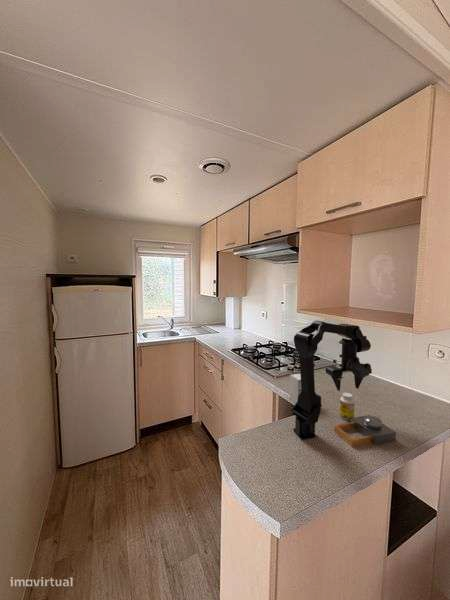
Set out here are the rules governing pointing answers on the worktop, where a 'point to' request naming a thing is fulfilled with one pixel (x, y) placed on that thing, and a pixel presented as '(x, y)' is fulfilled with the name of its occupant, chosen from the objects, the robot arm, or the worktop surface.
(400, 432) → the worktop surface
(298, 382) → the supplement box
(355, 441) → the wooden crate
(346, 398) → the supplement bottle
